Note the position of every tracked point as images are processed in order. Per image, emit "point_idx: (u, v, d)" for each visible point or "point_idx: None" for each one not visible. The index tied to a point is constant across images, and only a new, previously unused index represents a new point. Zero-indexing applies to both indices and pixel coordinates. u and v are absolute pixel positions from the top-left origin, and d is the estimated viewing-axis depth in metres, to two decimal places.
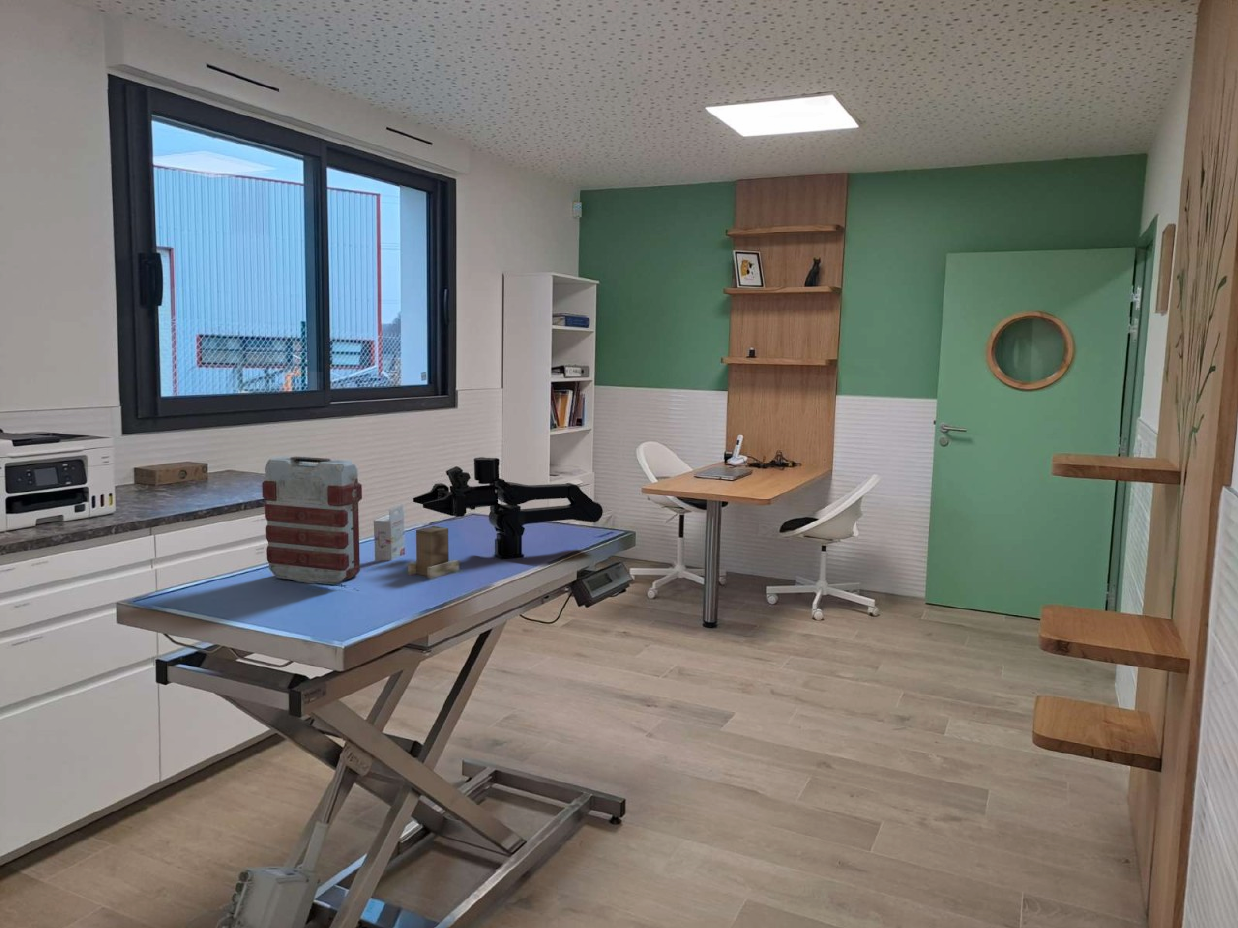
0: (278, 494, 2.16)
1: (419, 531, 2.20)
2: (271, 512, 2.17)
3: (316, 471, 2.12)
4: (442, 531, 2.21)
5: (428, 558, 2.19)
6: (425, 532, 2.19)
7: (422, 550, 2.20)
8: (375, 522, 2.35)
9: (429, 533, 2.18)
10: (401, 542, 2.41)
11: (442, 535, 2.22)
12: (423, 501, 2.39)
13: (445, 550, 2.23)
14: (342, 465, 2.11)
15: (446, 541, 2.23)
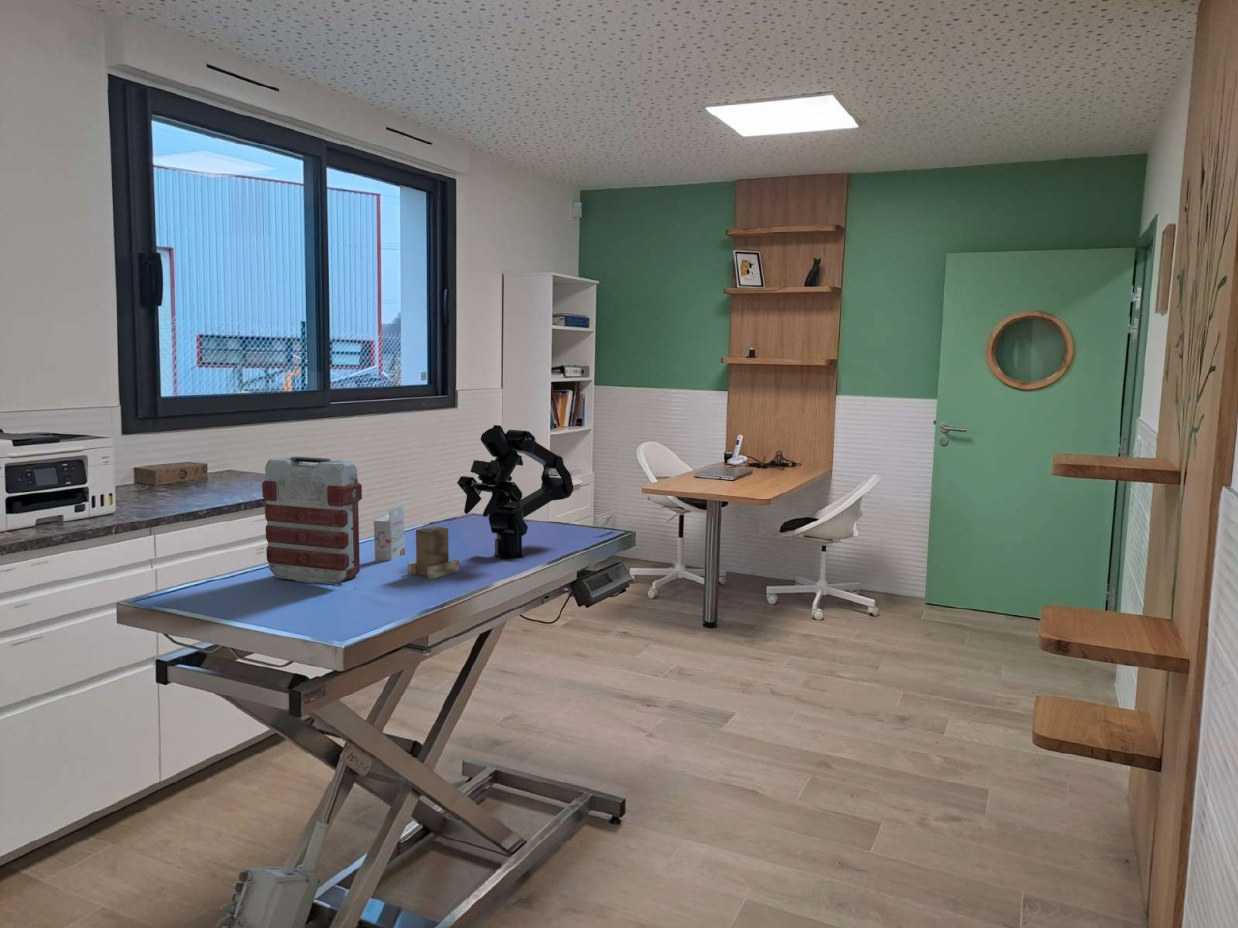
0: (278, 494, 2.16)
1: (419, 531, 2.20)
2: (271, 512, 2.17)
3: (316, 471, 2.12)
4: (442, 531, 2.21)
5: (428, 558, 2.19)
6: (425, 532, 2.19)
7: (422, 550, 2.20)
8: (375, 522, 2.35)
9: (429, 533, 2.18)
10: (401, 542, 2.41)
11: (442, 535, 2.22)
12: (471, 506, 2.38)
13: (445, 550, 2.23)
14: (342, 465, 2.11)
15: (446, 541, 2.23)
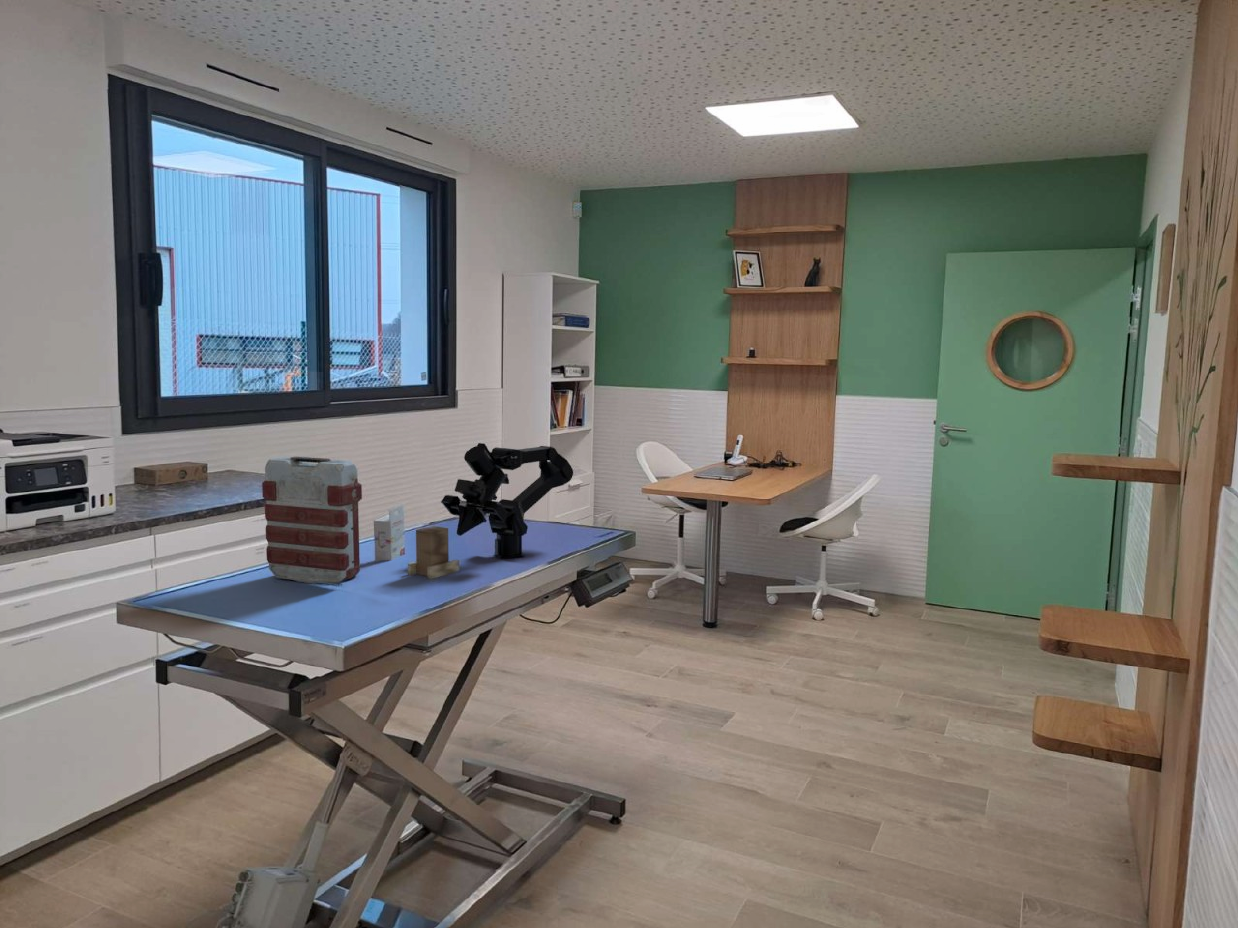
0: (278, 494, 2.16)
1: (419, 531, 2.20)
2: (270, 512, 2.17)
3: (316, 471, 2.12)
4: (442, 531, 2.21)
5: (428, 558, 2.19)
6: (425, 532, 2.19)
7: (422, 550, 2.20)
8: (375, 522, 2.35)
9: (429, 533, 2.18)
10: (401, 542, 2.41)
11: (442, 535, 2.22)
12: None
13: (445, 550, 2.23)
14: (342, 465, 2.11)
15: (446, 541, 2.23)
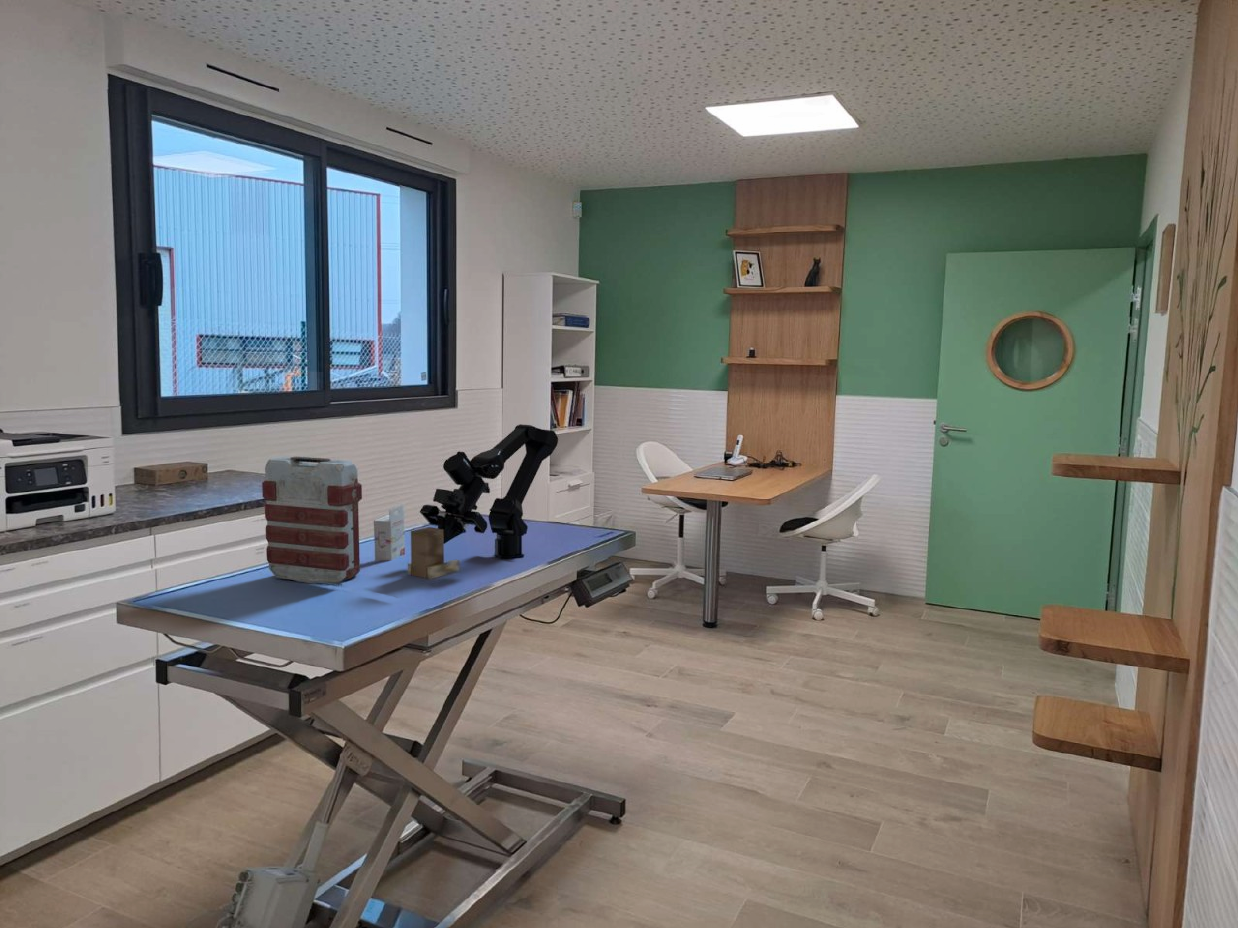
0: (278, 494, 2.16)
1: (414, 532, 2.19)
2: (271, 512, 2.17)
3: (316, 471, 2.12)
4: (437, 532, 2.20)
5: (423, 560, 2.18)
6: (420, 533, 2.18)
7: (417, 551, 2.19)
8: (375, 522, 2.35)
9: (424, 534, 2.17)
10: (401, 542, 2.41)
11: (437, 537, 2.20)
12: None
13: (440, 551, 2.22)
14: (342, 465, 2.11)
15: (441, 542, 2.22)
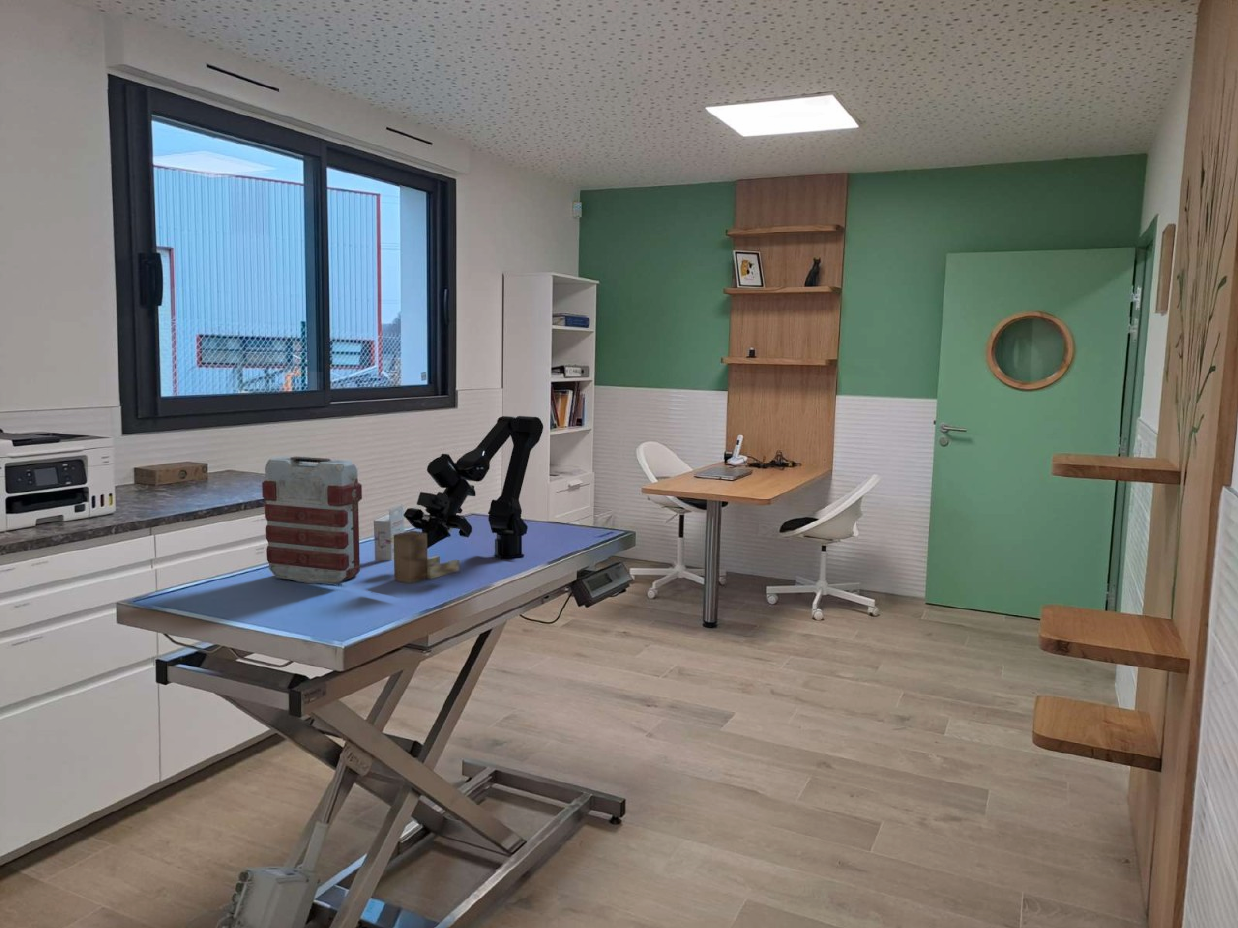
0: (278, 494, 2.16)
1: (397, 536, 2.14)
2: (271, 512, 2.17)
3: (316, 471, 2.12)
4: (420, 536, 2.15)
5: (406, 564, 2.13)
6: (403, 537, 2.13)
7: (400, 555, 2.14)
8: (375, 522, 2.35)
9: (407, 538, 2.12)
10: None
11: (420, 541, 2.15)
12: None
13: (424, 555, 2.17)
14: (342, 465, 2.11)
15: (425, 546, 2.17)
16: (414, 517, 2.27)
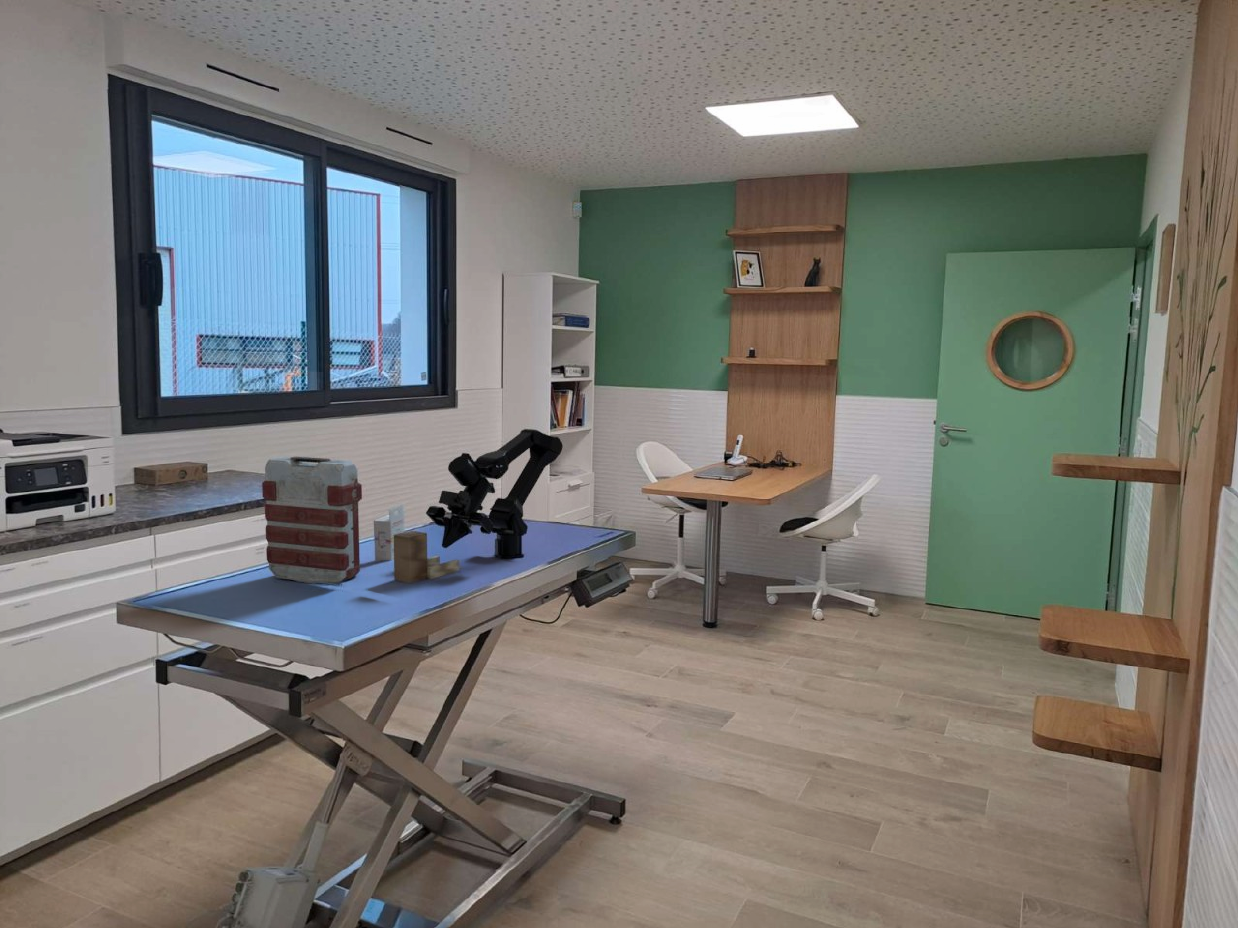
0: (278, 494, 2.16)
1: (397, 536, 2.14)
2: (270, 512, 2.17)
3: (316, 471, 2.12)
4: (420, 536, 2.15)
5: (406, 564, 2.13)
6: (403, 537, 2.13)
7: (400, 555, 2.14)
8: (375, 522, 2.35)
9: (407, 538, 2.12)
10: None
11: (420, 541, 2.15)
12: None
13: (424, 556, 2.17)
14: (342, 465, 2.11)
15: (425, 546, 2.17)
16: (436, 515, 2.34)
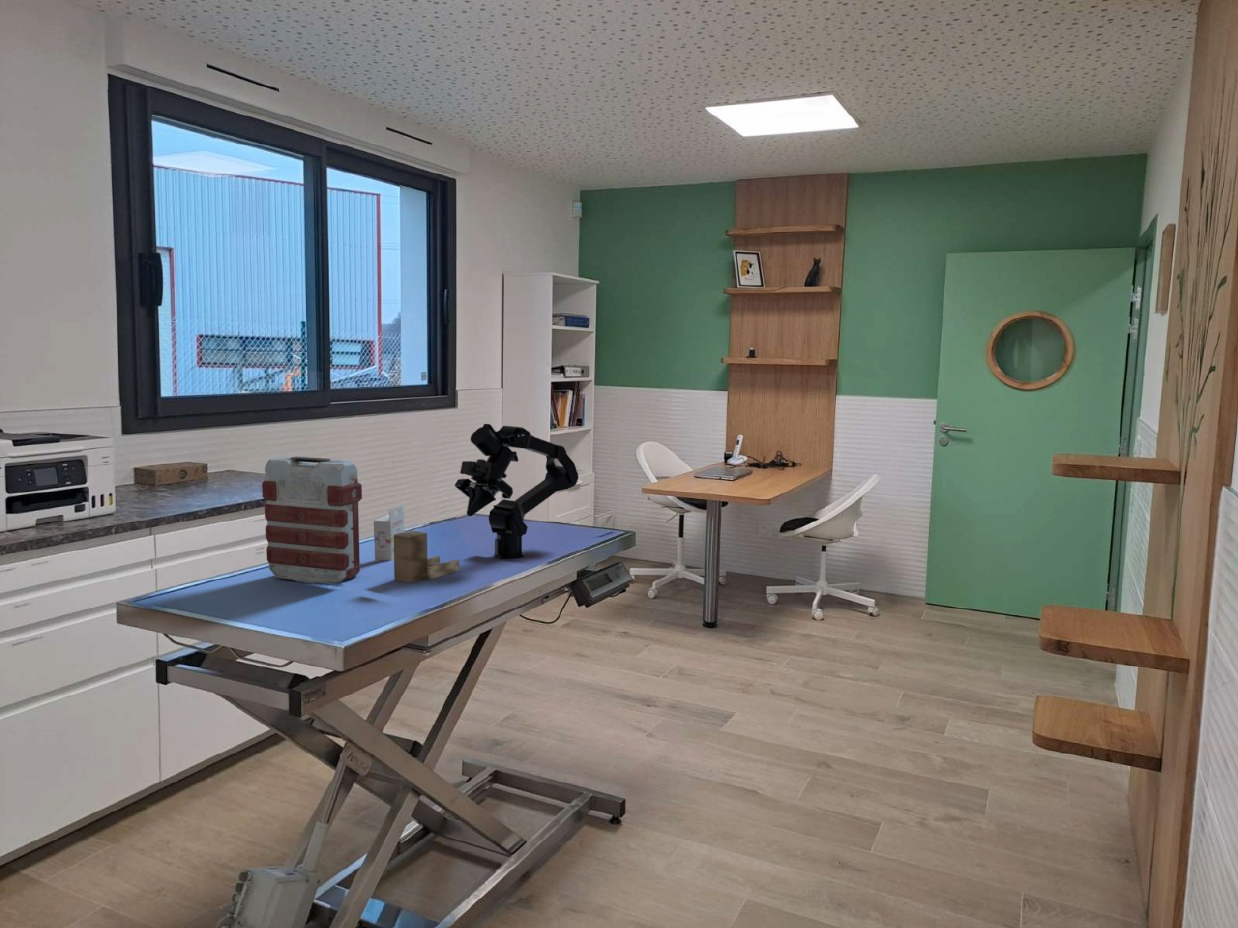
0: (278, 494, 2.16)
1: (397, 536, 2.14)
2: (270, 512, 2.17)
3: (316, 471, 2.12)
4: (420, 536, 2.15)
5: (406, 564, 2.13)
6: (403, 537, 2.13)
7: (400, 555, 2.14)
8: (375, 522, 2.35)
9: (407, 538, 2.12)
10: None
11: (420, 541, 2.15)
12: None
13: (424, 556, 2.17)
14: (342, 465, 2.11)
15: (425, 546, 2.17)
16: (465, 487, 2.43)
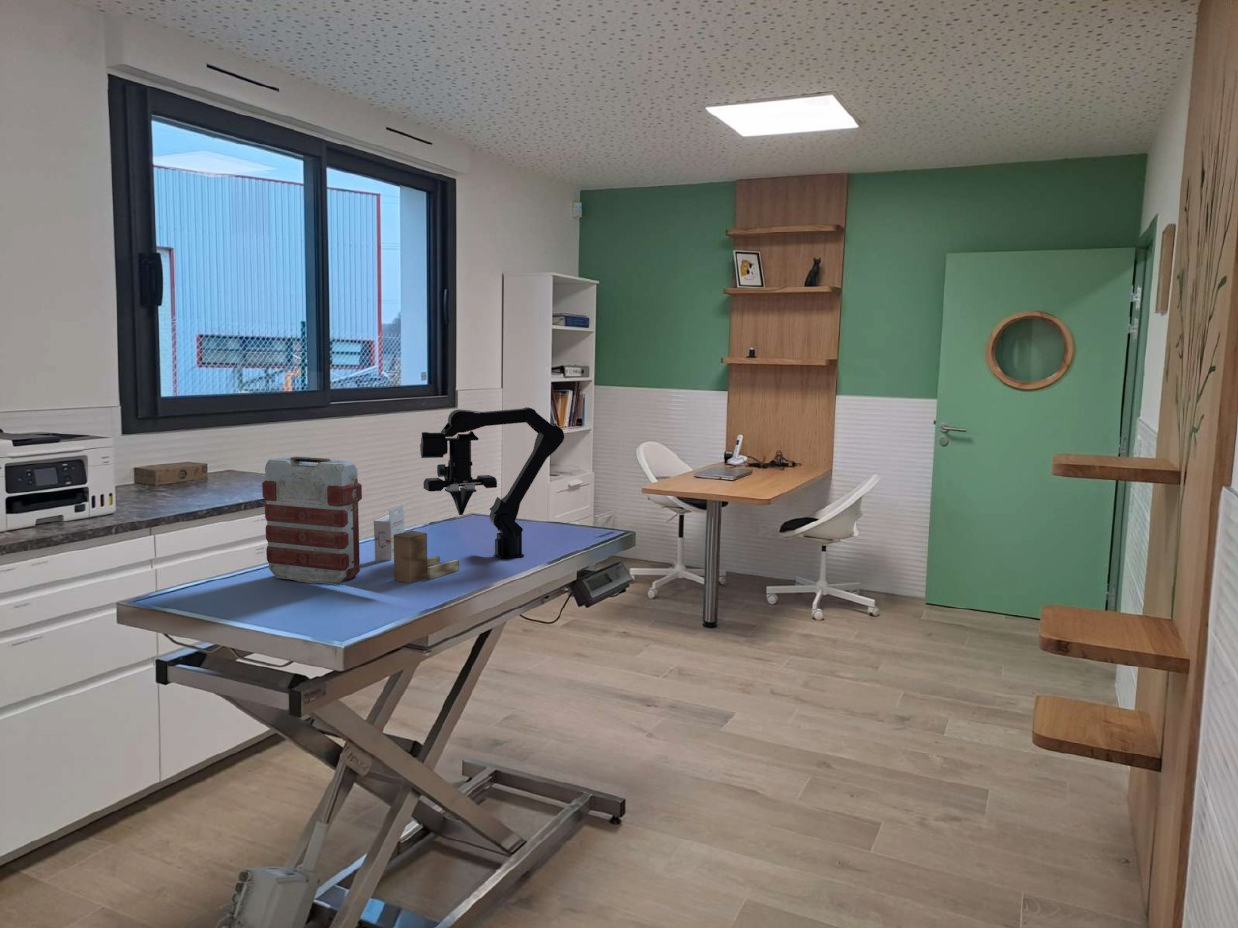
0: (278, 494, 2.16)
1: (397, 536, 2.14)
2: (271, 512, 2.17)
3: (316, 471, 2.12)
4: (420, 536, 2.15)
5: (406, 564, 2.13)
6: (403, 537, 2.13)
7: (400, 555, 2.14)
8: (375, 522, 2.35)
9: (407, 538, 2.12)
10: None
11: (420, 541, 2.15)
12: None
13: (424, 556, 2.17)
14: (342, 465, 2.11)
15: (425, 546, 2.17)
16: None
